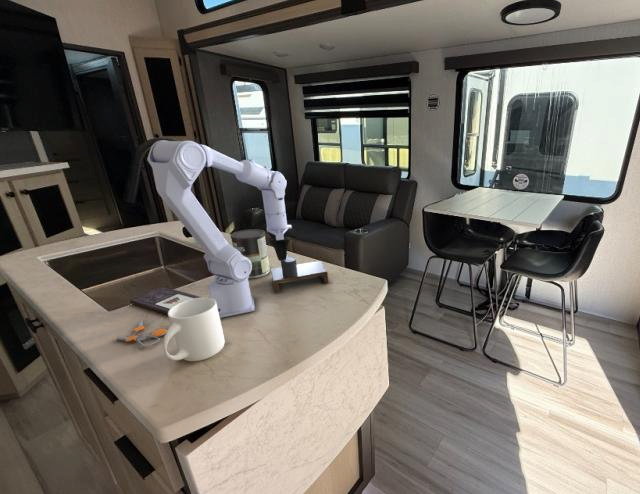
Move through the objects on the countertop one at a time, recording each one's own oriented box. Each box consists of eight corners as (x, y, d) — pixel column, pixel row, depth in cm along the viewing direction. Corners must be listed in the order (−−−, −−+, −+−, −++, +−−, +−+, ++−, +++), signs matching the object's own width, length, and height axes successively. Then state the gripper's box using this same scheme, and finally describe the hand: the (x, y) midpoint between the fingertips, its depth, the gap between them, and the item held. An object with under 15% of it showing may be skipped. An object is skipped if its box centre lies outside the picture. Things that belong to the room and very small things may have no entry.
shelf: (275, 292, 95) (273, 280, 94) (272, 280, 104) (270, 268, 102) (328, 282, 102) (327, 271, 100) (321, 271, 110) (320, 260, 109)
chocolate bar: (163, 286, 96) (203, 297, 90) (163, 289, 97) (204, 300, 90) (129, 299, 89) (171, 313, 82) (130, 302, 89) (172, 316, 82)
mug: (154, 369, 64) (139, 323, 60) (204, 335, 75) (194, 295, 71) (188, 377, 62) (174, 331, 58) (234, 341, 73) (225, 300, 69)
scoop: (298, 276, 97) (296, 260, 95) (283, 278, 95) (281, 263, 93) (294, 265, 105) (292, 251, 103) (280, 267, 103) (278, 253, 101)
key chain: (176, 333, 75) (175, 330, 75) (141, 351, 69) (140, 348, 69) (144, 321, 80) (143, 318, 80) (109, 336, 74) (108, 333, 74)
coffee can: (249, 281, 102) (241, 240, 98) (231, 274, 108) (223, 234, 103) (276, 271, 110) (271, 232, 105) (259, 264, 116) (253, 227, 111)
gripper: (292, 216, 89) (297, 261, 93) (287, 206, 101) (292, 246, 106) (265, 219, 86) (272, 265, 91) (263, 208, 98) (269, 249, 103)
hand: (281, 255), depth 98 cm, fingers open, 7 cm apart
